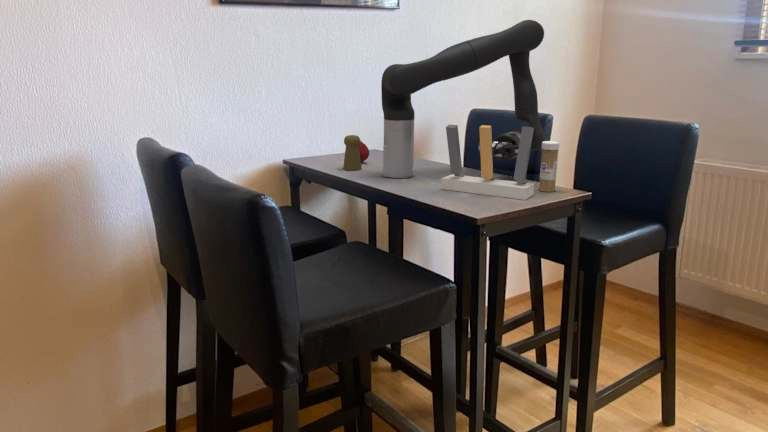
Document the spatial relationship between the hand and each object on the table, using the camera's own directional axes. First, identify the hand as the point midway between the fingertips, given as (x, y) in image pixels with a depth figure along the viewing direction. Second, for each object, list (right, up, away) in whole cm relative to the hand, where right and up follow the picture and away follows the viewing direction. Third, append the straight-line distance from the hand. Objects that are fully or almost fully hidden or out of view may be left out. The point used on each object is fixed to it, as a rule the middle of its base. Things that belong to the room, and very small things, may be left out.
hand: (487, 152), depth 159 cm
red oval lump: (-36, +1, +45) cm, 58 cm away
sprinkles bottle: (+17, -10, +5) cm, 21 cm away
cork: (-38, -2, +34) cm, 51 cm away
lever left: (-7, -5, +6) cm, 11 cm away
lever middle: (0, -6, +2) cm, 6 cm away
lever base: (0, -10, +3) cm, 11 cm away
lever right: (+8, -7, -3) cm, 11 cm away
